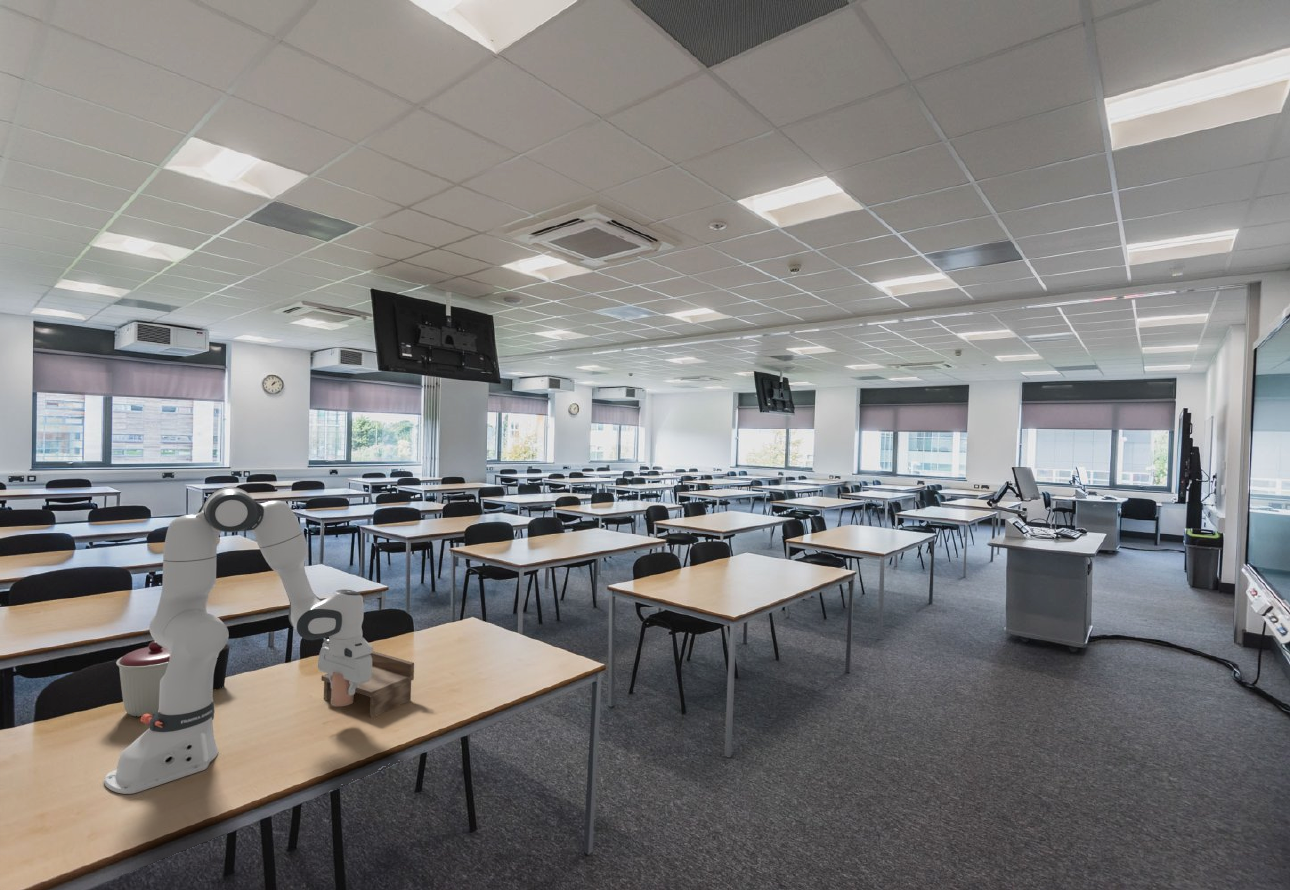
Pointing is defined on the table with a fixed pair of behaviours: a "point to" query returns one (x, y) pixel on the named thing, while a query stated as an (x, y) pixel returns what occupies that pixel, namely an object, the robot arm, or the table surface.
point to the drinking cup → (221, 668)
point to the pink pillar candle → (340, 691)
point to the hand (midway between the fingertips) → (342, 691)
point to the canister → (143, 678)
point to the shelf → (383, 683)
